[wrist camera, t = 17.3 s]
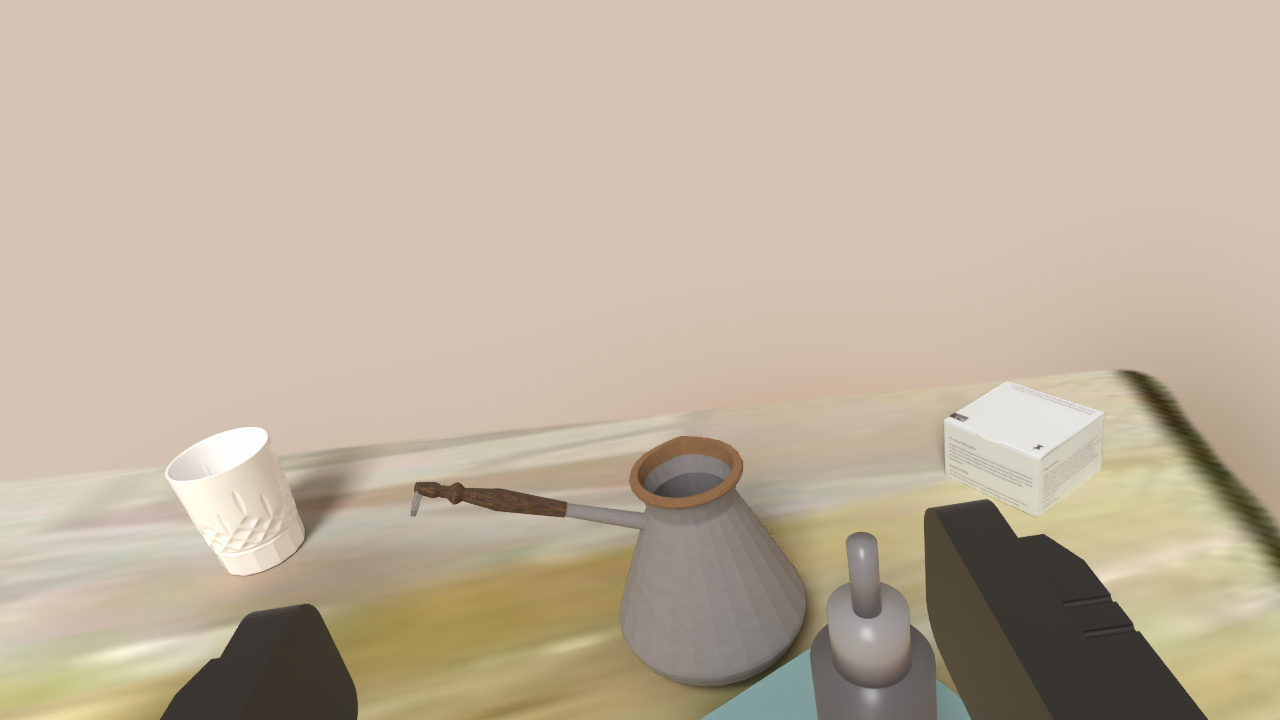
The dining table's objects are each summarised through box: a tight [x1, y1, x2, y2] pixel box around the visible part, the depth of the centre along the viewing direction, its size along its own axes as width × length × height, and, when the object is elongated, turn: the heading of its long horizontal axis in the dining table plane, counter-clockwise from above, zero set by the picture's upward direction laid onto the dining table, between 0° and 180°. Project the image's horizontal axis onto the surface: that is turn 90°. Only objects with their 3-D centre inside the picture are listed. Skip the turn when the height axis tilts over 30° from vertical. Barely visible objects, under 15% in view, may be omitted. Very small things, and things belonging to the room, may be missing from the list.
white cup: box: [165, 427, 305, 576], centre depth 66 cm, size 8×8×10 cm
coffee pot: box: [411, 436, 807, 687], centre depth 47 cm, size 21×12×15 cm, turn 92°
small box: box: [943, 381, 1105, 518], centre depth 57 cm, size 8×8×5 cm
